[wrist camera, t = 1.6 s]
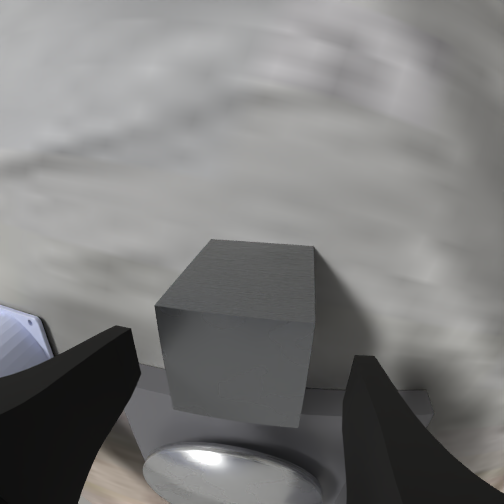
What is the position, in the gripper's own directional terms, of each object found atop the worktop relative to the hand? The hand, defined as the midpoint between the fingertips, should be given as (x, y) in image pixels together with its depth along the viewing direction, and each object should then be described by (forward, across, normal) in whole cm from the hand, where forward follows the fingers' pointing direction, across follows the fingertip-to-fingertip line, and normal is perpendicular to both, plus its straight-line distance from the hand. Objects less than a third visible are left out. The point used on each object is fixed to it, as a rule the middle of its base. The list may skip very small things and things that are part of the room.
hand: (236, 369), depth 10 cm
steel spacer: (+6, 0, 0) cm, 6 cm away
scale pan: (+2, +1, +14) cm, 14 cm away
